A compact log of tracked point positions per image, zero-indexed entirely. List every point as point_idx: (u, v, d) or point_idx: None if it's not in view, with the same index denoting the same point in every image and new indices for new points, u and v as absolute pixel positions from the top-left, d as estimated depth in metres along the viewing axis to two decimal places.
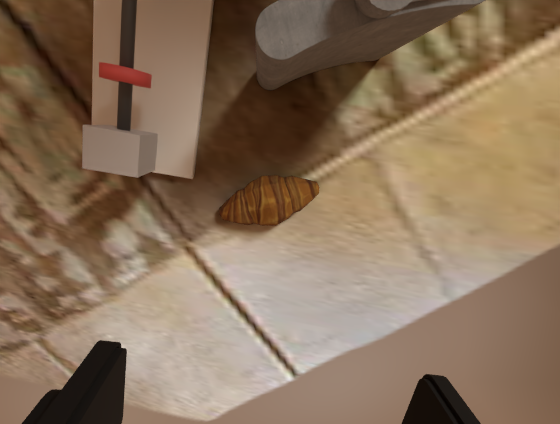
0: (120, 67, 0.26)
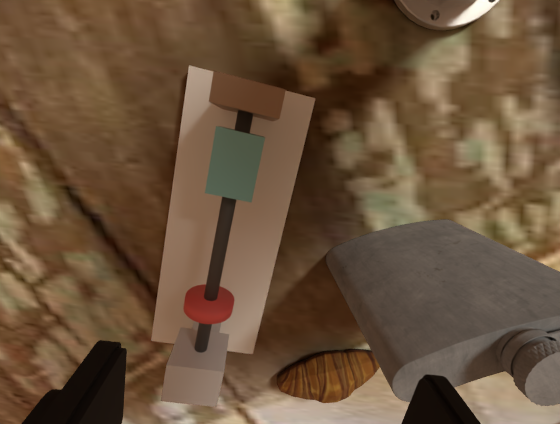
0: (211, 313, 0.25)
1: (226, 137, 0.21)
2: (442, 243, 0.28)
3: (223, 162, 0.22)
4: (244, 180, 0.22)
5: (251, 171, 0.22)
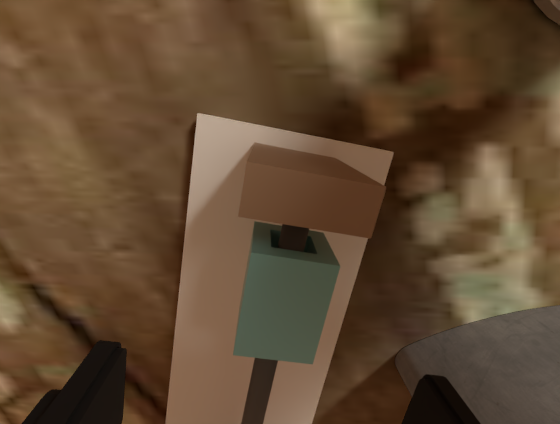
0: None
1: (270, 269, 0.12)
2: None
3: (264, 308, 0.12)
4: (301, 334, 0.13)
5: (314, 319, 0.12)
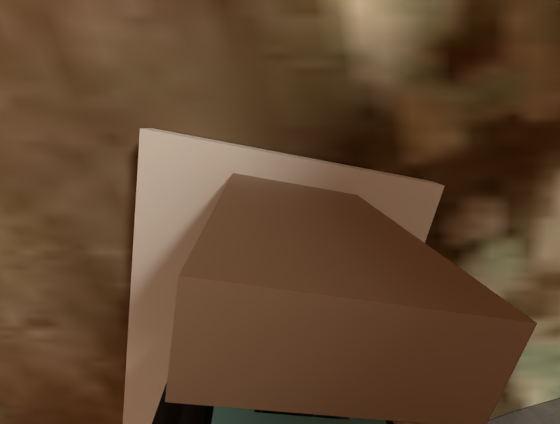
0: None
1: None
2: None
3: None
4: None
5: None
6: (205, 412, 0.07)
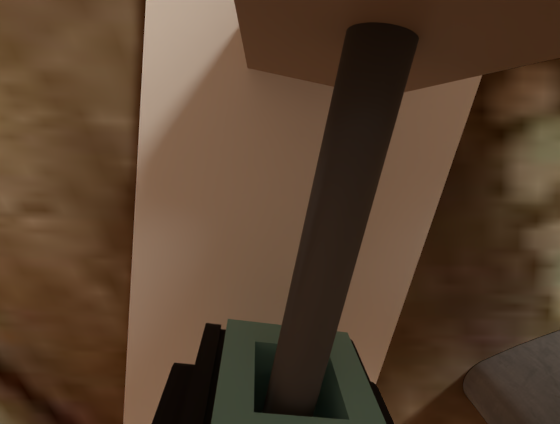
0: None
1: None
2: None
3: None
4: None
5: None
6: (205, 411, 0.07)
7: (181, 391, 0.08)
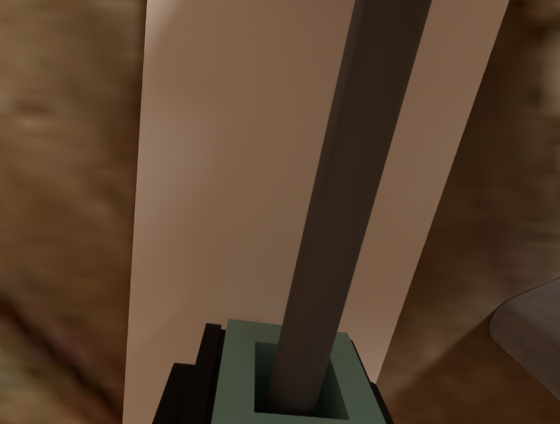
0: None
1: None
2: None
3: None
4: None
5: None
6: (205, 412, 0.07)
7: (182, 391, 0.08)
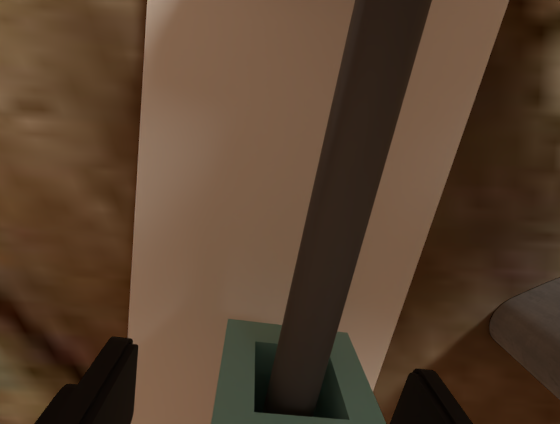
0: None
1: None
2: None
3: None
4: None
5: None
6: None
7: None
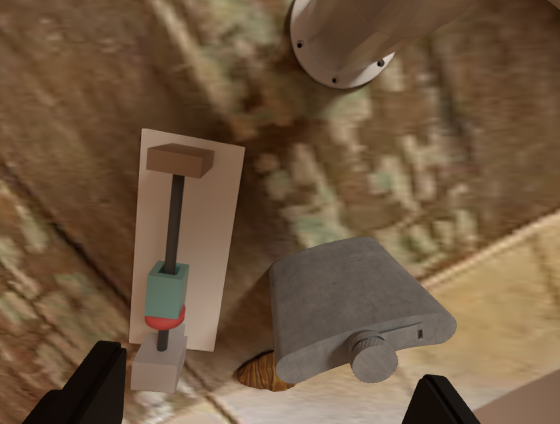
0: (163, 322, 0.32)
1: (155, 281, 0.31)
2: (349, 260, 0.35)
3: (155, 296, 0.32)
4: (171, 306, 0.32)
5: (175, 300, 0.32)
6: None
7: None
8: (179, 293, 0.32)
